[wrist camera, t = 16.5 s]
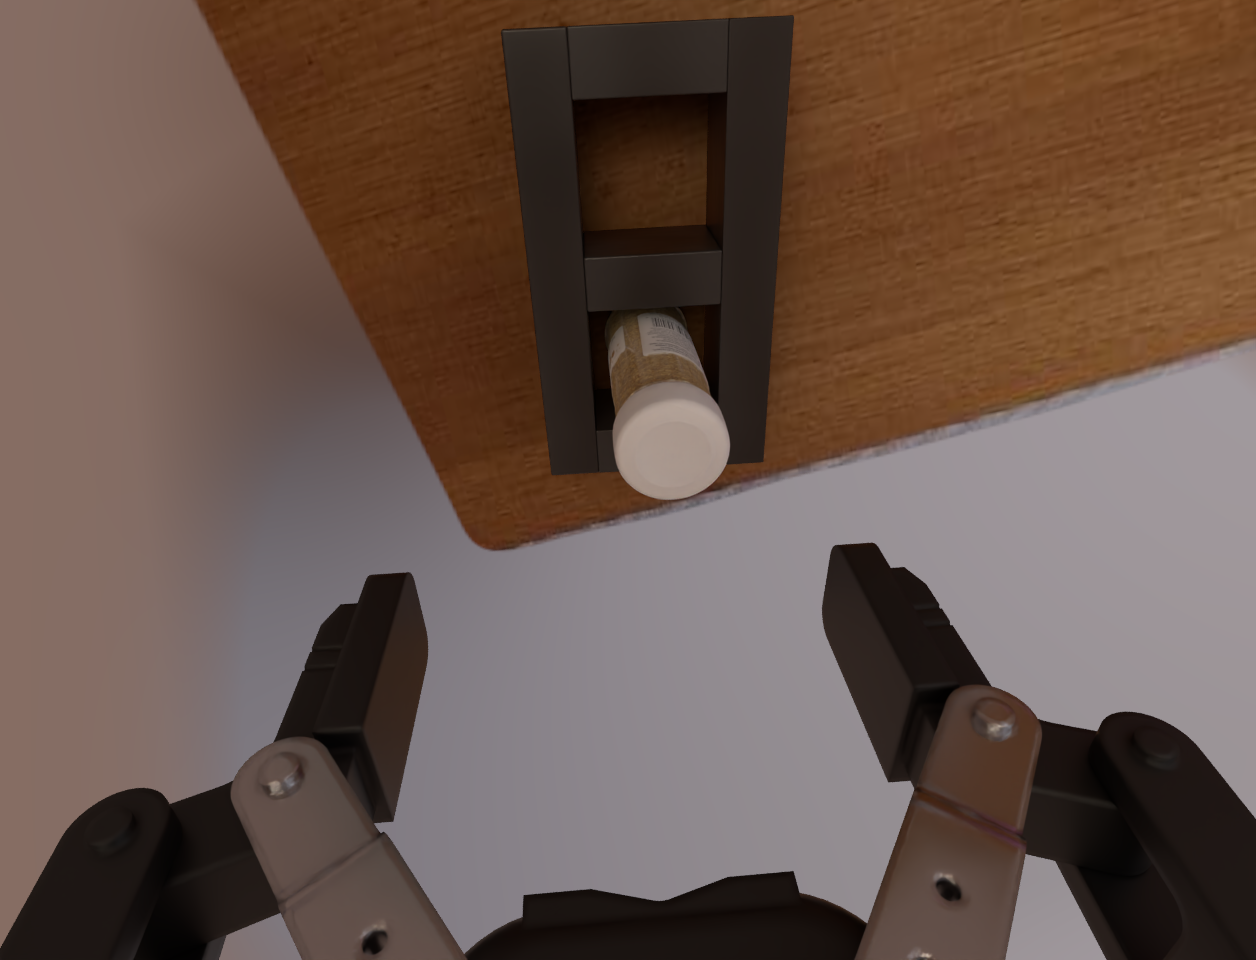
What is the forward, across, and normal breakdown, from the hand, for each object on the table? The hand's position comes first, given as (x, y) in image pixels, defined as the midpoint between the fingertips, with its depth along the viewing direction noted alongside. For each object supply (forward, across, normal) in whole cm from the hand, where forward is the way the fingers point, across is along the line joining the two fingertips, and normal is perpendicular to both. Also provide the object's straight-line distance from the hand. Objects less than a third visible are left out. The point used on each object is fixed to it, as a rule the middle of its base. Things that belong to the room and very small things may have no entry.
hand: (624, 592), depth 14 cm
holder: (+27, -3, +1) cm, 27 cm away
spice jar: (+27, -3, +5) cm, 28 cm away
